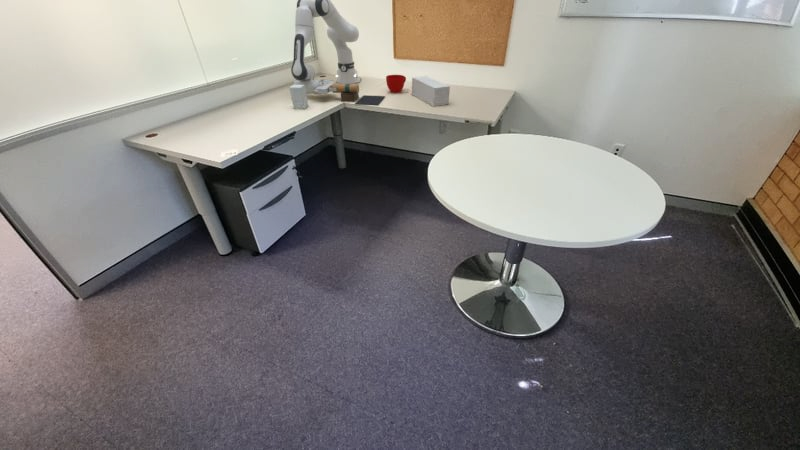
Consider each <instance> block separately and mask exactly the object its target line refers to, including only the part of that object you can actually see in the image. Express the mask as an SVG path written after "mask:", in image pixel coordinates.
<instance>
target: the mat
mask: <svg viewBox="0 0 800 450" xmlns="http://www.w3.org/2000/svg"><path fill="white" fill-rule="evenodd" d="M385 97H386V96H385V95H362V96H361V97H359V98H358V99H357V100H356V101H355V102H354V105H361V106H363V105H364V106H379V105H380V103H382V101H383V100H384V99H385Z"/></svg>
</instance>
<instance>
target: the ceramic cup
mask: <svg viewBox="0 0 800 450" xmlns="http://www.w3.org/2000/svg"><path fill="white" fill-rule="evenodd" d="M385 81H386V86H387V88H388V90H389V91H390V92H391V93H392V94H399V93H401V91H402V90H403V88H404V86H405V83H406V81H407V77H406V76H405V75H403V74H388V75H386V76H385Z"/></svg>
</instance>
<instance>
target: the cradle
mask: <svg viewBox="0 0 800 450" xmlns="http://www.w3.org/2000/svg"><path fill="white" fill-rule="evenodd" d="M359 93H360V92H359ZM359 93H340V101H341V102H348V103H349V102H350V103H356V102H357V101H358V100H359V99H360V96H359Z"/></svg>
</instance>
